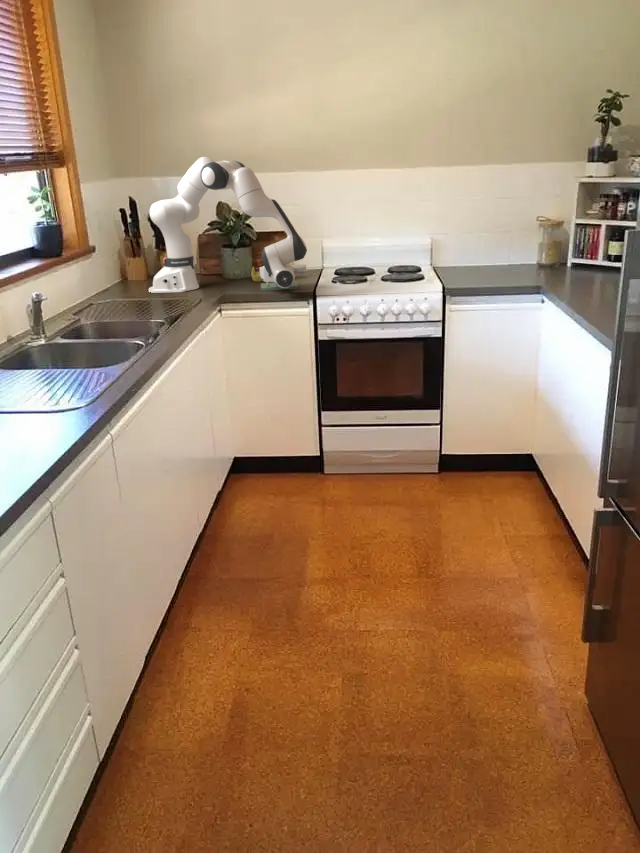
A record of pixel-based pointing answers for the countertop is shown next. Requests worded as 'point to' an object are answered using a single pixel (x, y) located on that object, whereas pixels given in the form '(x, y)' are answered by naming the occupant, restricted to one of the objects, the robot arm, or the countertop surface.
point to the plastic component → (258, 275)
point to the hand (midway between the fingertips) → (282, 268)
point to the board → (276, 286)
